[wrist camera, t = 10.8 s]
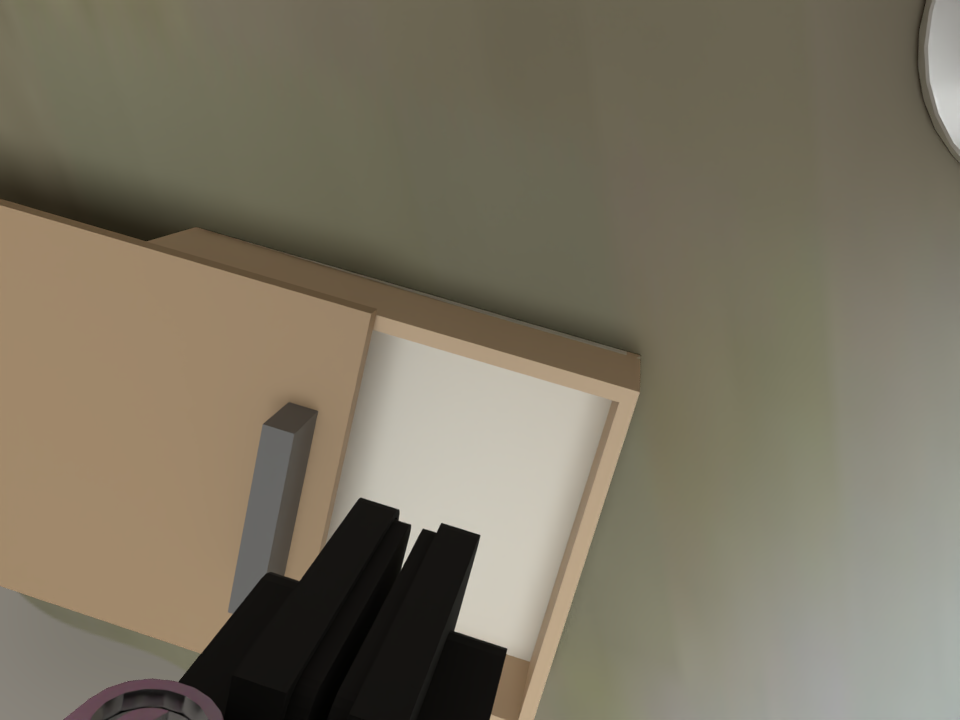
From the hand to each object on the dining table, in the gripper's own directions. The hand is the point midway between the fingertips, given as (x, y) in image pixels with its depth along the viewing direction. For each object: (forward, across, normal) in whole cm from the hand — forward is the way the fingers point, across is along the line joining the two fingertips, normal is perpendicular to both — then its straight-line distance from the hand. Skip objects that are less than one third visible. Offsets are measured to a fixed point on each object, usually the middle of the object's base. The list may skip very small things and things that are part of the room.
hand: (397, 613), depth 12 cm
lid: (+22, +16, +11) cm, 30 cm away
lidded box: (+27, +6, +11) cm, 30 cm away
